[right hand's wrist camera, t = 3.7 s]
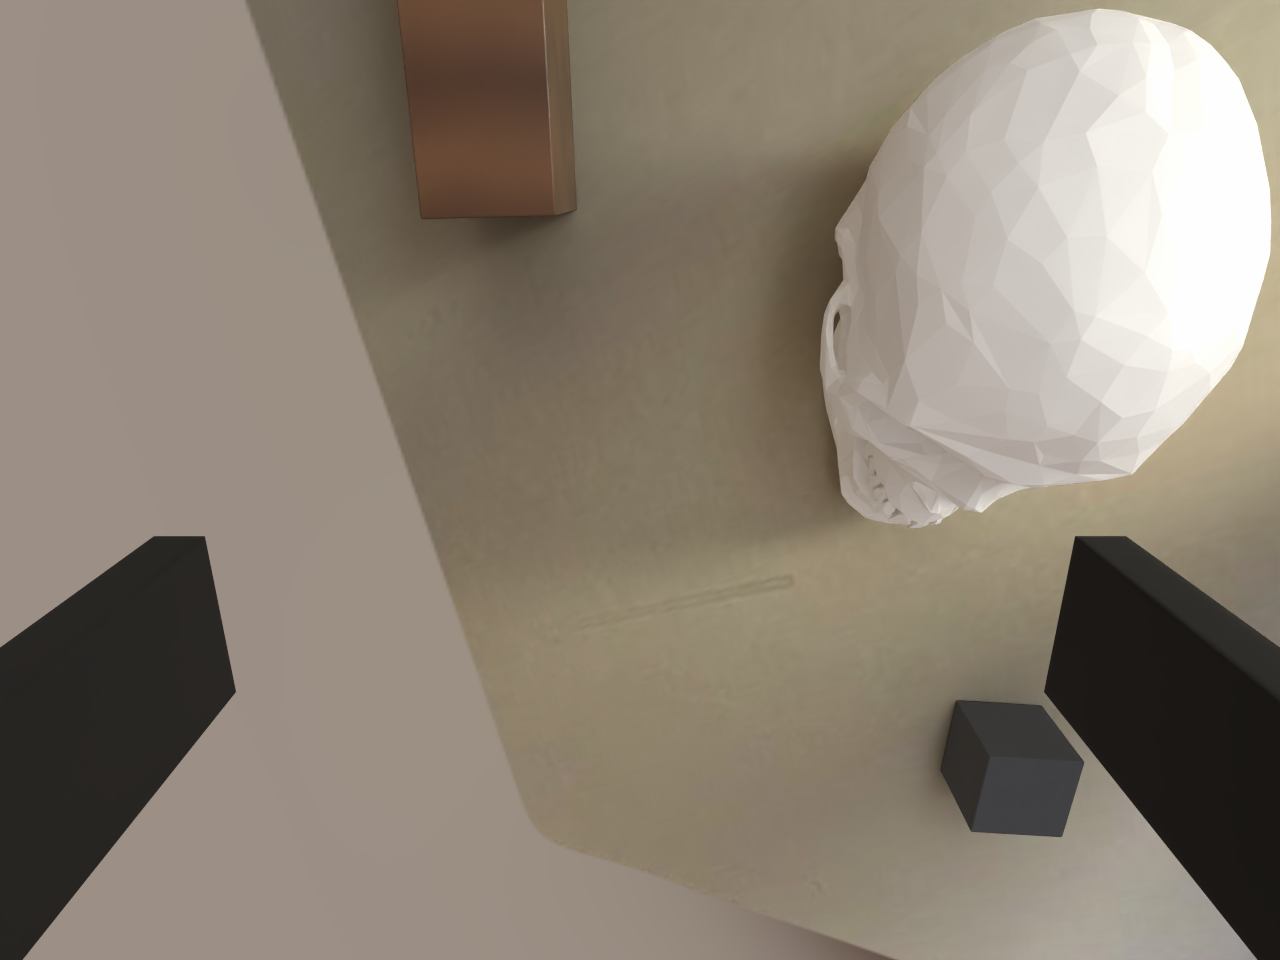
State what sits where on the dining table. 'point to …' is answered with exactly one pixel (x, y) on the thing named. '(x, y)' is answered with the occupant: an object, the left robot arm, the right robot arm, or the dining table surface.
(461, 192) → the walnut bar
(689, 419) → the dining table surface
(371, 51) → the dining table surface
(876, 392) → the skull
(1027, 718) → the grey rubber block
